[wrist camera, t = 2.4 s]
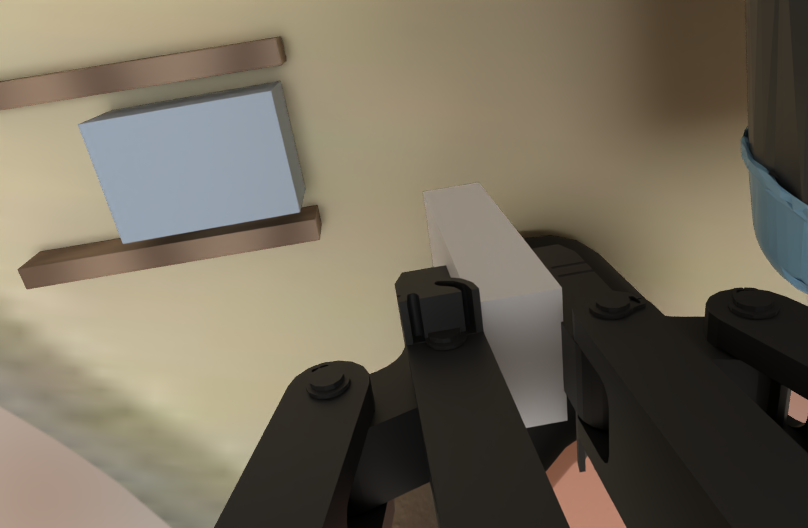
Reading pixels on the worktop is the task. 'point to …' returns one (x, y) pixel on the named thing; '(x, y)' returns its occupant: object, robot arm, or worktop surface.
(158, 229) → the slate block
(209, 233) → the walnut channel
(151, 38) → the worktop surface
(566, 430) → the coffee jar
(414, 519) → the pillar candle
